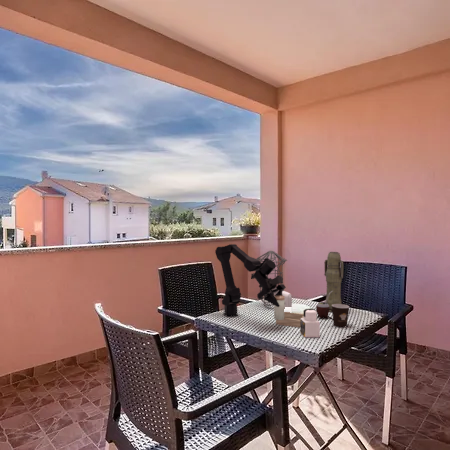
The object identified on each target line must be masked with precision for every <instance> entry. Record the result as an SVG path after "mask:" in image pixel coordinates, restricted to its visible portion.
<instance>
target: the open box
mask: <svg viewBox="0 0 450 450" xmlns="http://www.w3.org/2000/svg"><path fill="white" fill-rule="evenodd" d="M301 318H303V313H298V312H297V313H296V312H292V313H290V312H284V319H283V320H277V319H275V325H279V326H287V327H293V328H300V319H301Z"/></svg>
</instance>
